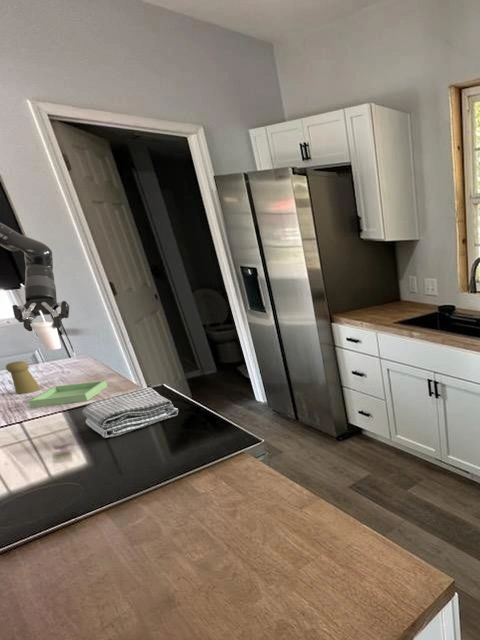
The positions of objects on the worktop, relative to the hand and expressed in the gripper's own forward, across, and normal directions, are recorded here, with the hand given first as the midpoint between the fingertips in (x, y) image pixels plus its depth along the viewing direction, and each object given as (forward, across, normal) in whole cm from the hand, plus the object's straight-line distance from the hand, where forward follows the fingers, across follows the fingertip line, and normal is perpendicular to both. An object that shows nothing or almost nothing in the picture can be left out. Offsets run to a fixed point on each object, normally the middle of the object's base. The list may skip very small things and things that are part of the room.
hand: (43, 328), depth 145 cm
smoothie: (+5, 0, -7) cm, 8 cm away
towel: (+55, -27, +23) cm, 65 cm away
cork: (+14, +11, -18) cm, 25 cm away
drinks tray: (+26, -4, -6) cm, 27 cm away
